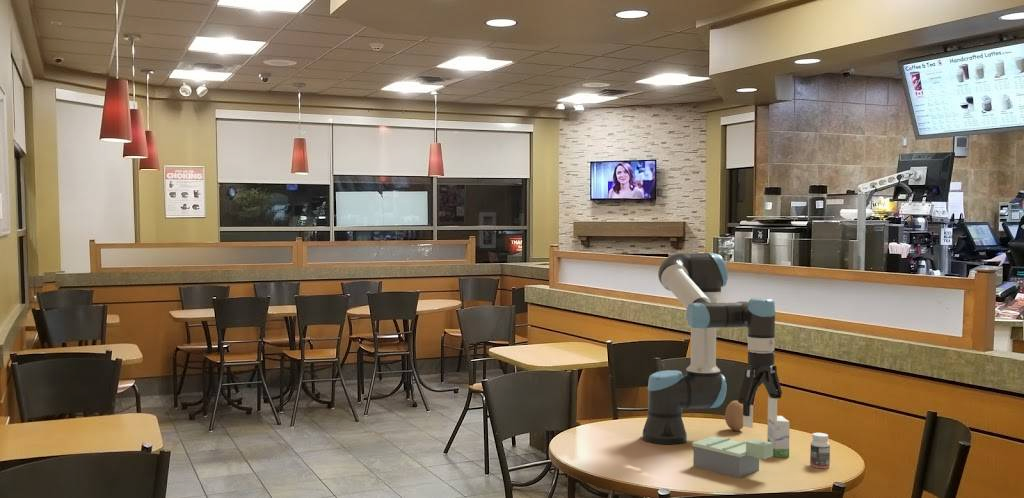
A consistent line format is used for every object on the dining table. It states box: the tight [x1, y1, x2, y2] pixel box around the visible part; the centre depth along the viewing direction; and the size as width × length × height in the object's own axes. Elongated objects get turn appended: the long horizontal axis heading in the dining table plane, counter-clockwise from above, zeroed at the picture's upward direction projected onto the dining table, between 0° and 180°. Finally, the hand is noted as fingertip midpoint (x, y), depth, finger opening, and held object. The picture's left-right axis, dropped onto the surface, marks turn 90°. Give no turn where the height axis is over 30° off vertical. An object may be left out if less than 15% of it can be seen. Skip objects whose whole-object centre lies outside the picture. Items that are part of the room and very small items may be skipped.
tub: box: [692, 446, 760, 479], centre depth 259 cm, size 16×11×7 cm
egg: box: [724, 400, 744, 432], centre depth 308 cm, size 8×8×11 cm
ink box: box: [766, 415, 791, 458], centre depth 278 cm, size 8×5×12 cm, turn 0°
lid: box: [691, 435, 774, 460], centre depth 256 cm, size 23×12×4 cm, turn 43°
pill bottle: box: [809, 432, 831, 469], centre depth 264 cm, size 6×6×10 cm
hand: (760, 423), depth 250 cm, fingers open, 13 cm apart
